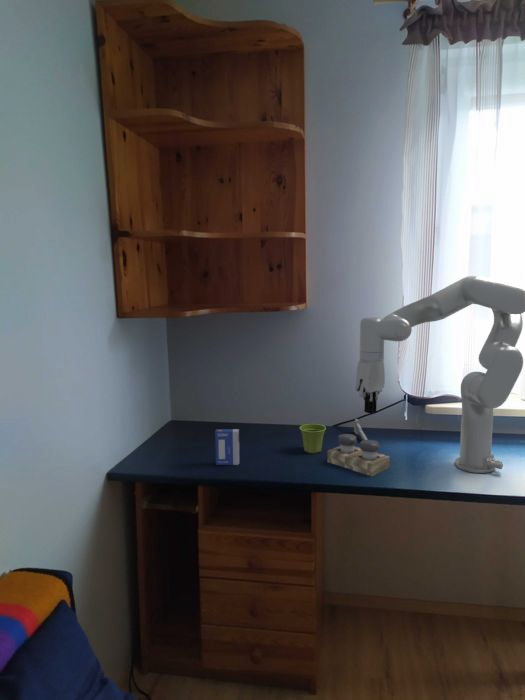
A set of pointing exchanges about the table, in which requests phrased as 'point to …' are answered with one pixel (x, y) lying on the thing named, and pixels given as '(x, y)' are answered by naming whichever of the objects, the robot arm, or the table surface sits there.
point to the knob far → (347, 443)
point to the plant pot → (312, 437)
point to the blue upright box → (227, 446)
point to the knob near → (369, 449)
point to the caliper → (359, 430)
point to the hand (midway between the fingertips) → (370, 412)
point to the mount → (358, 461)
